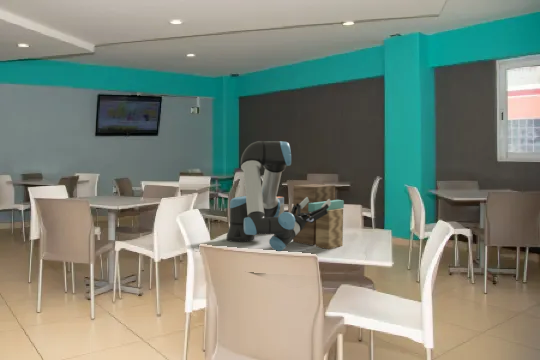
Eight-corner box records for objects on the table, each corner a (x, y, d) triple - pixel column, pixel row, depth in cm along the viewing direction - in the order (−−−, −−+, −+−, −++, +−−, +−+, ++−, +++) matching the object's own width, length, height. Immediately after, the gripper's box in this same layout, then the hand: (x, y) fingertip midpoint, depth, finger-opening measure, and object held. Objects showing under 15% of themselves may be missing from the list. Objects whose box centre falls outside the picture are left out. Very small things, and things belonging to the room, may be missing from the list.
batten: (314, 212, 234) (314, 203, 234) (308, 211, 237) (308, 203, 236) (343, 208, 251) (343, 200, 251) (337, 207, 254) (337, 199, 254)
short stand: (328, 249, 240) (329, 210, 239) (315, 246, 245) (316, 209, 244) (342, 245, 249) (343, 208, 247) (329, 243, 254) (330, 207, 253)
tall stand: (313, 245, 249) (314, 187, 247) (292, 241, 259) (293, 185, 257) (334, 240, 262) (335, 185, 260) (313, 237, 272) (314, 184, 270)
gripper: (277, 229, 236) (301, 204, 249) (317, 235, 219) (341, 208, 232) (272, 216, 233) (296, 192, 246) (312, 222, 216) (337, 195, 229)
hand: (318, 200), depth 239 cm, fingers open, 13 cm apart
